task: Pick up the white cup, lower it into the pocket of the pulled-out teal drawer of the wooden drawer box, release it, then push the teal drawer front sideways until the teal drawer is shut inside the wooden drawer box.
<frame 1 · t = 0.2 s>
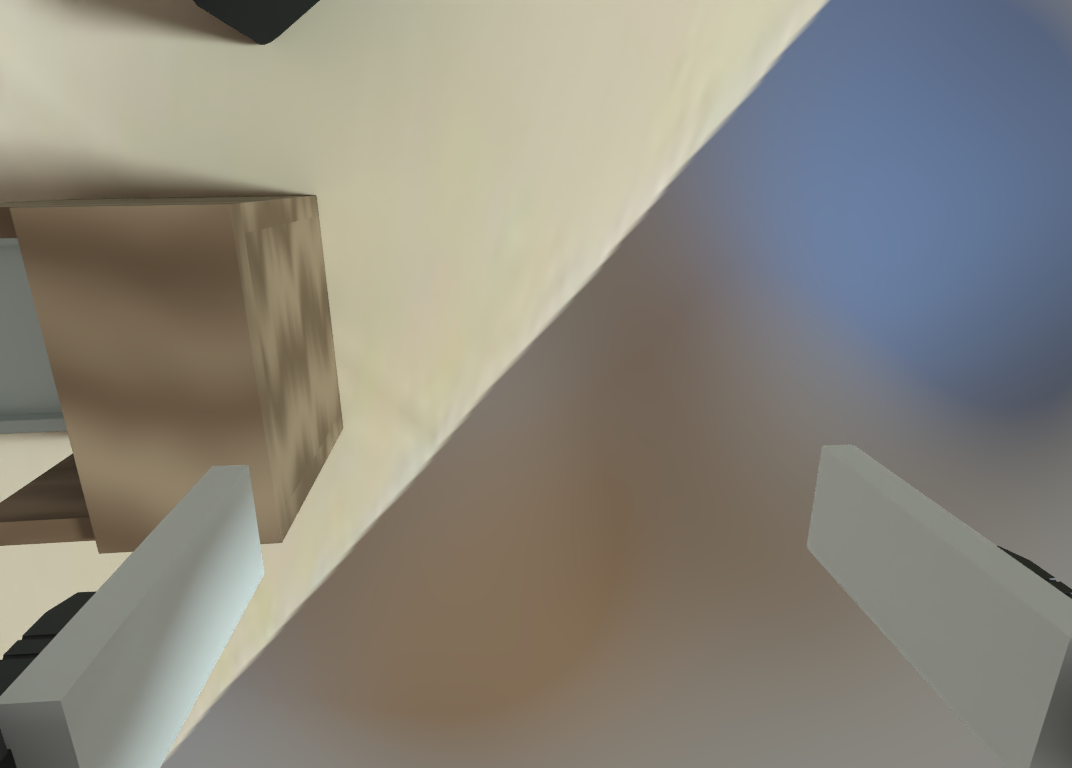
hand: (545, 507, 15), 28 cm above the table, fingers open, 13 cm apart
wooden drawer box: (216, 322, 40), on the table
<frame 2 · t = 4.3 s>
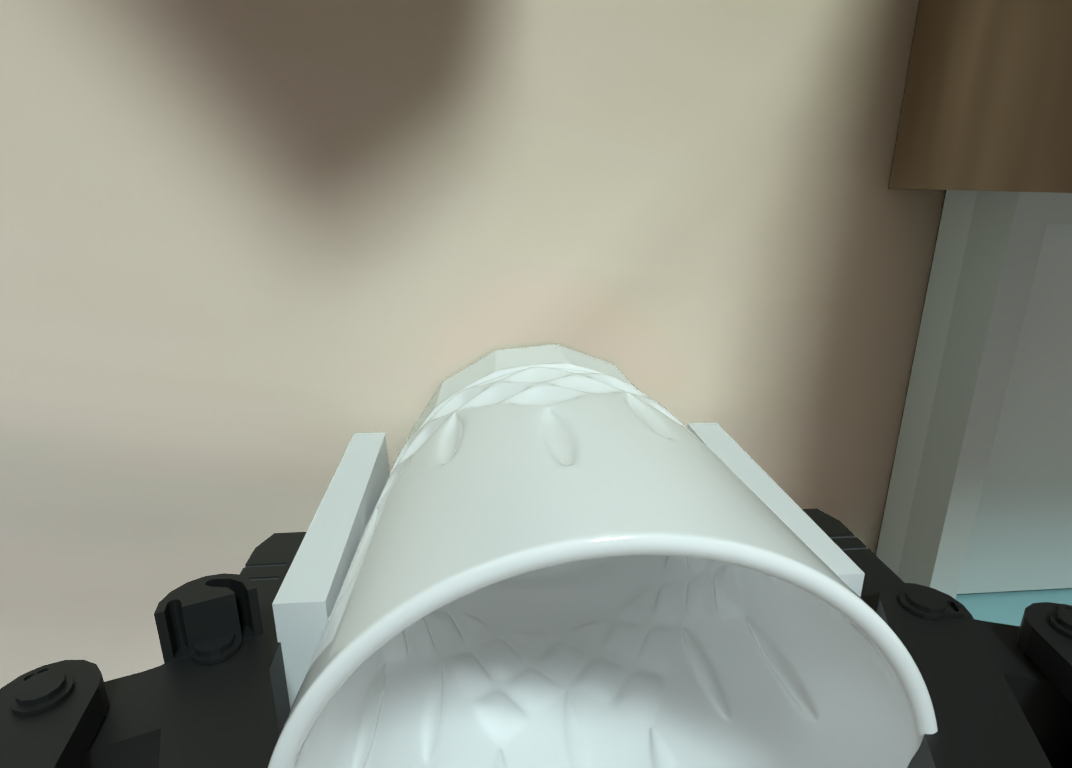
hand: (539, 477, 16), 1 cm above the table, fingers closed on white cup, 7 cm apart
white cup: (535, 462, 17), on the table, touching gripper
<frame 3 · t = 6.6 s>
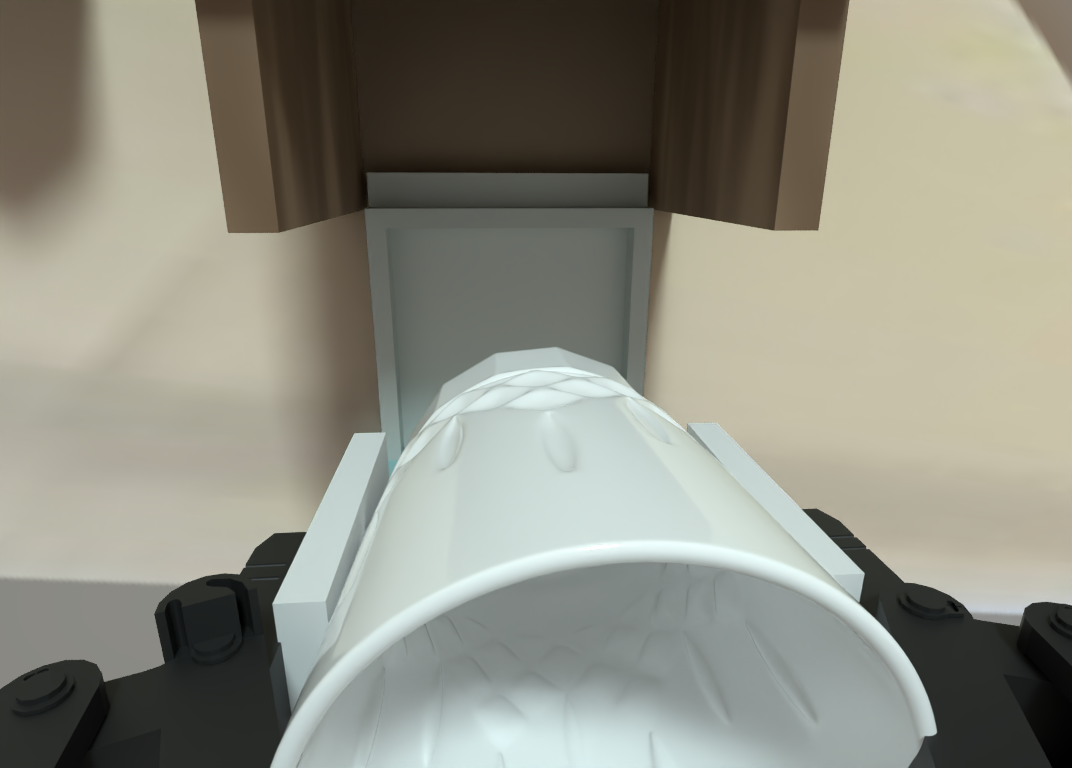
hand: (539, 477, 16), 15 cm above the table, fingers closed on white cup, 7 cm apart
teal drawer: (513, 334, 28), point 2 cm above the table, slide at 11.0 cm
wooden drawer box: (507, 33, 26), on the table
white cup: (535, 465, 17), point 14 cm above the table, touching gripper
when the fingers open (3 cm above the table, at t = 9.1 s): white cup moves 2 cm, resting on teal drawer.
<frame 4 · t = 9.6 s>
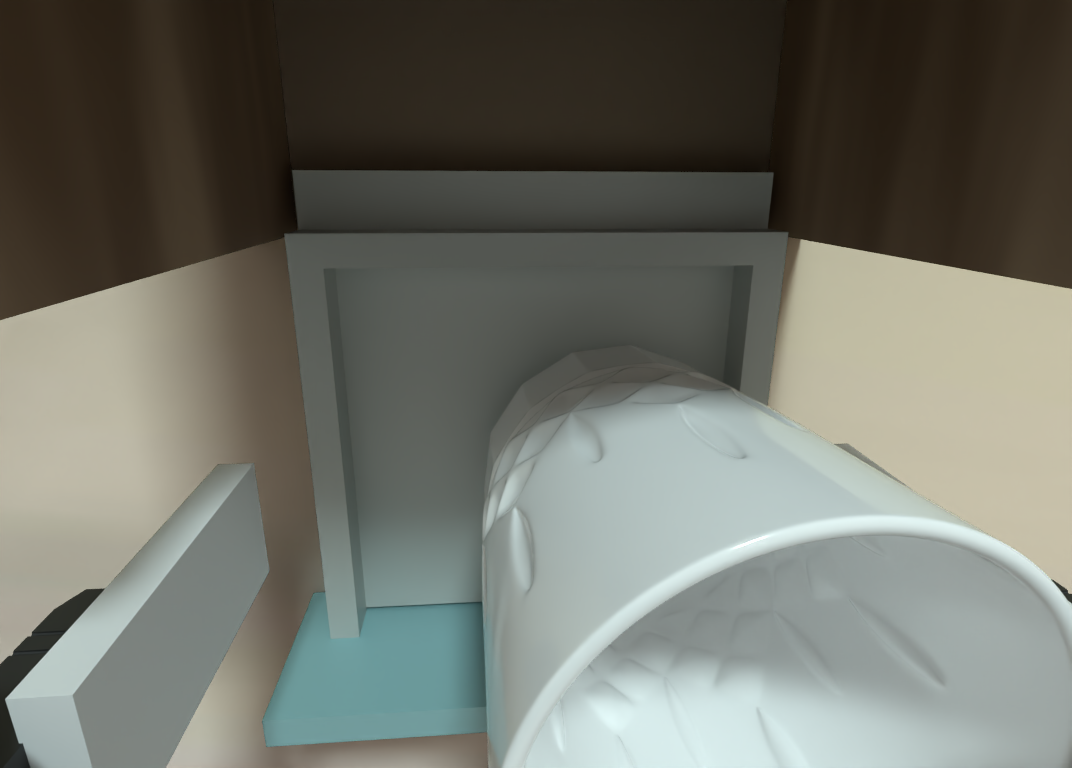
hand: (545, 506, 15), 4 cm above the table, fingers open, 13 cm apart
teal drawer: (544, 444, 16), point 2 cm above the table, slide at 10.9 cm, touching white cup
white cup: (605, 460, 17), point 2 cm above the table, touching gripper, teal drawer
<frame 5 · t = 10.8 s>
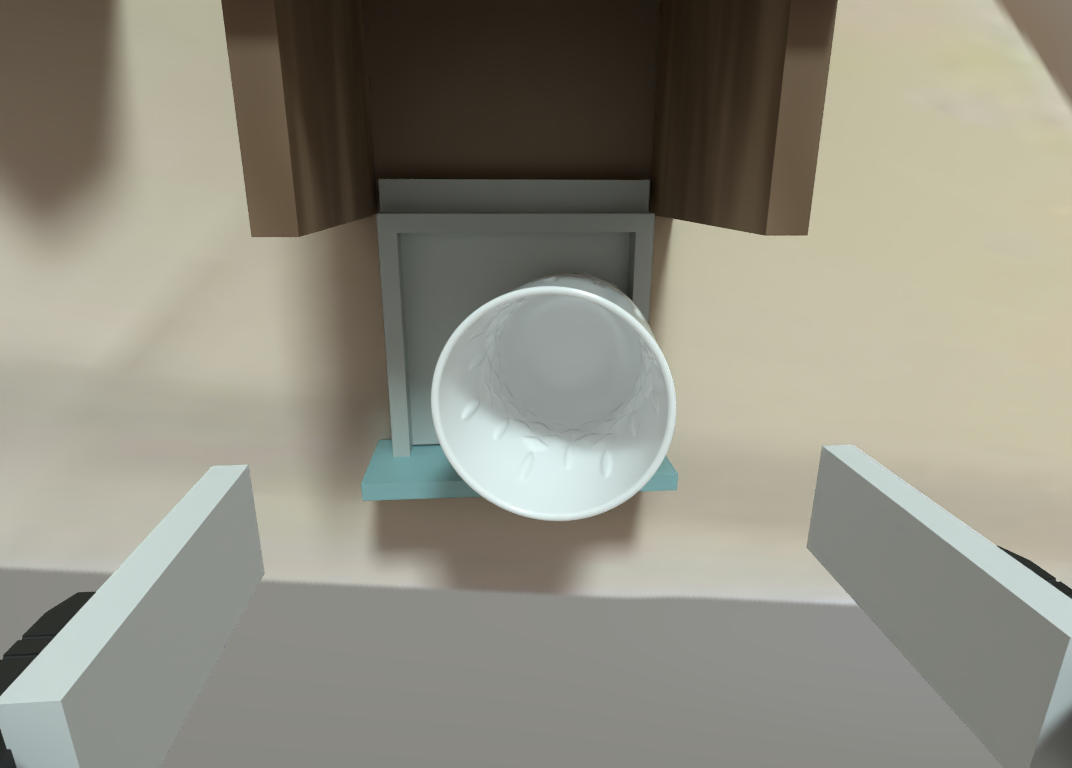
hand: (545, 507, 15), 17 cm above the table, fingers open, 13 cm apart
teal drawer: (518, 335, 29), point 3 cm above the table, slide at 11.0 cm, touching white cup
wooden drawer box: (514, 45, 27), on the table
white cup: (573, 342, 30), point 1 cm above the table, touching teal drawer
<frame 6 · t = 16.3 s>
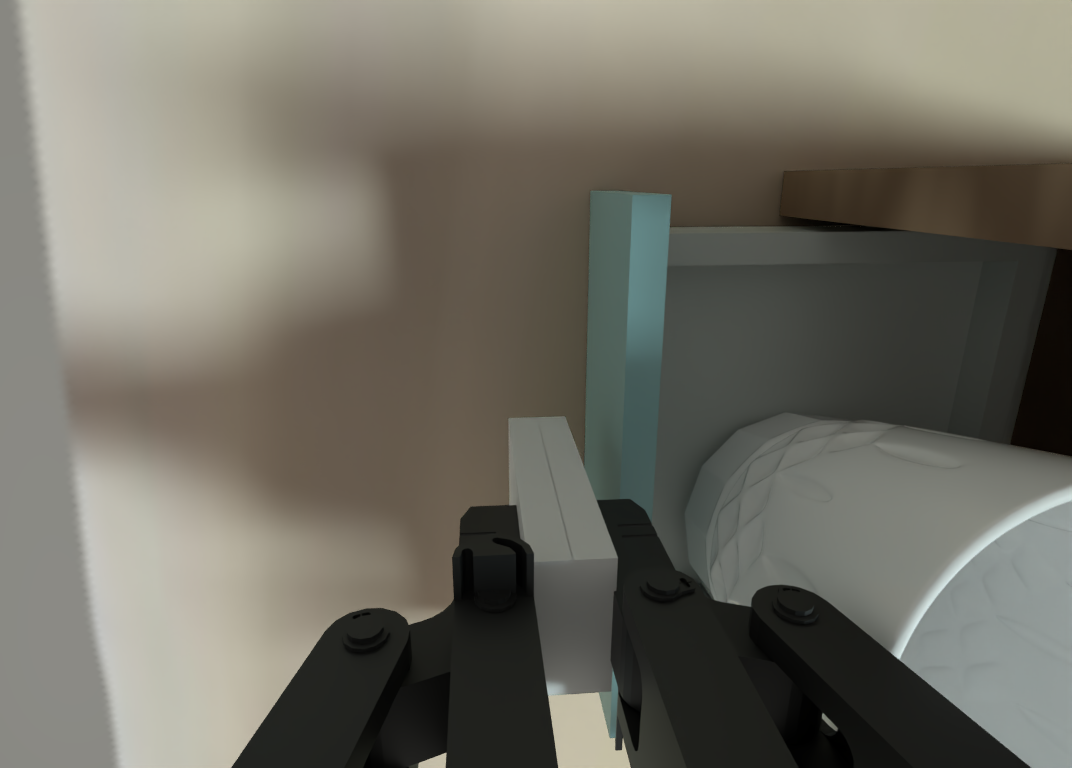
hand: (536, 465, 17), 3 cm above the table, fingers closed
teal drawer: (835, 451, 18), point 2 cm above the table, slide at 4.6 cm, touching white cup
wooden drawer box: (964, 413, 21), on the table
white cup: (785, 517, 20), point 1 cm above the table, touching hand, teal drawer
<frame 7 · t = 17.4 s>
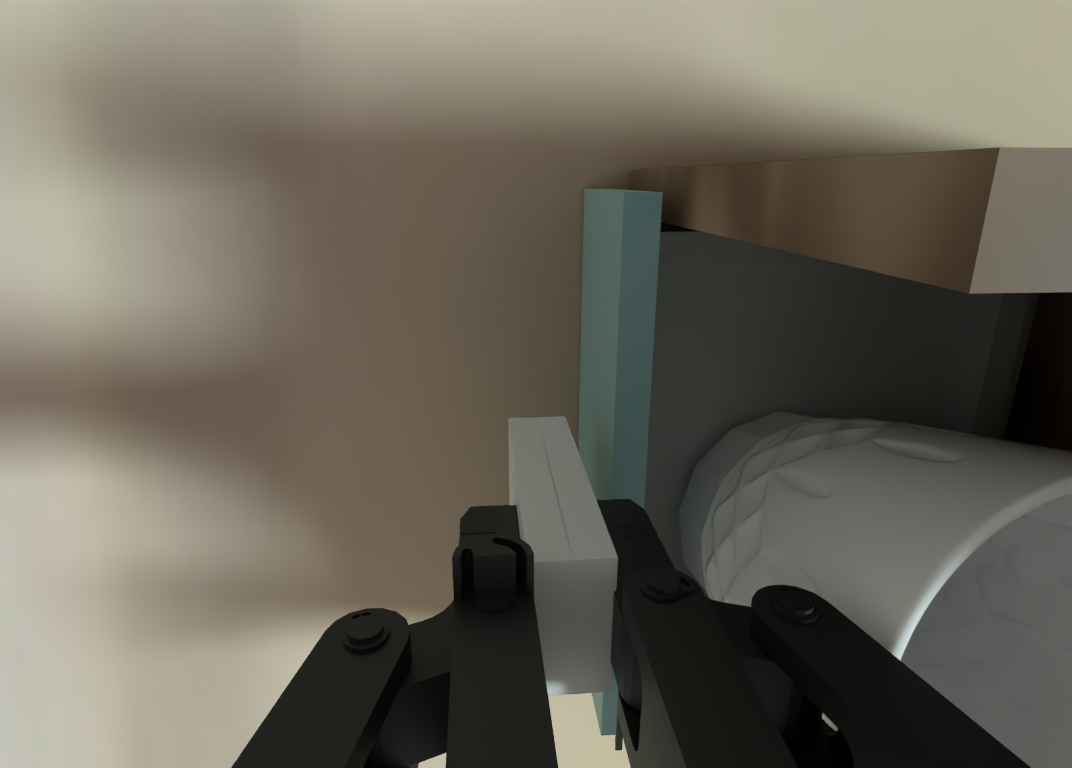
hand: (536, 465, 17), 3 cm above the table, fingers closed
teal drawer: (827, 450, 18), point 3 cm above the table, slide at 0.4 cm, touching white cup
wooden drawer box: (835, 416, 20), on the table
white cup: (779, 516, 20), point 2 cm above the table, touching hand, teal drawer
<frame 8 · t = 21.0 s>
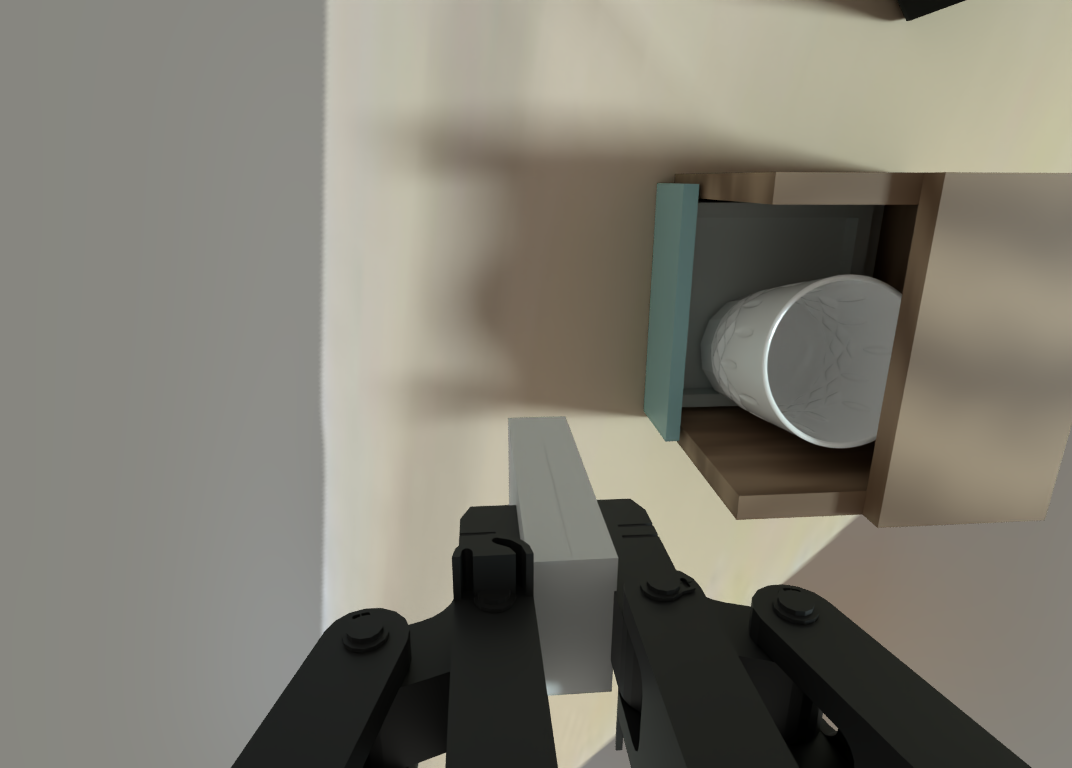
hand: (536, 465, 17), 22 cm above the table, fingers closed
teal drawer: (773, 309, 37), point 3 cm above the table, slide at 0.1 cm, touching white cup
wooden drawer box: (776, 301, 40), on the table
white cup: (751, 349, 39), point 1 cm above the table, touching teal drawer
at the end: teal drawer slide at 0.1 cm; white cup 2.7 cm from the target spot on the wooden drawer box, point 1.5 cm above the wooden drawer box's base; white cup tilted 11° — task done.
